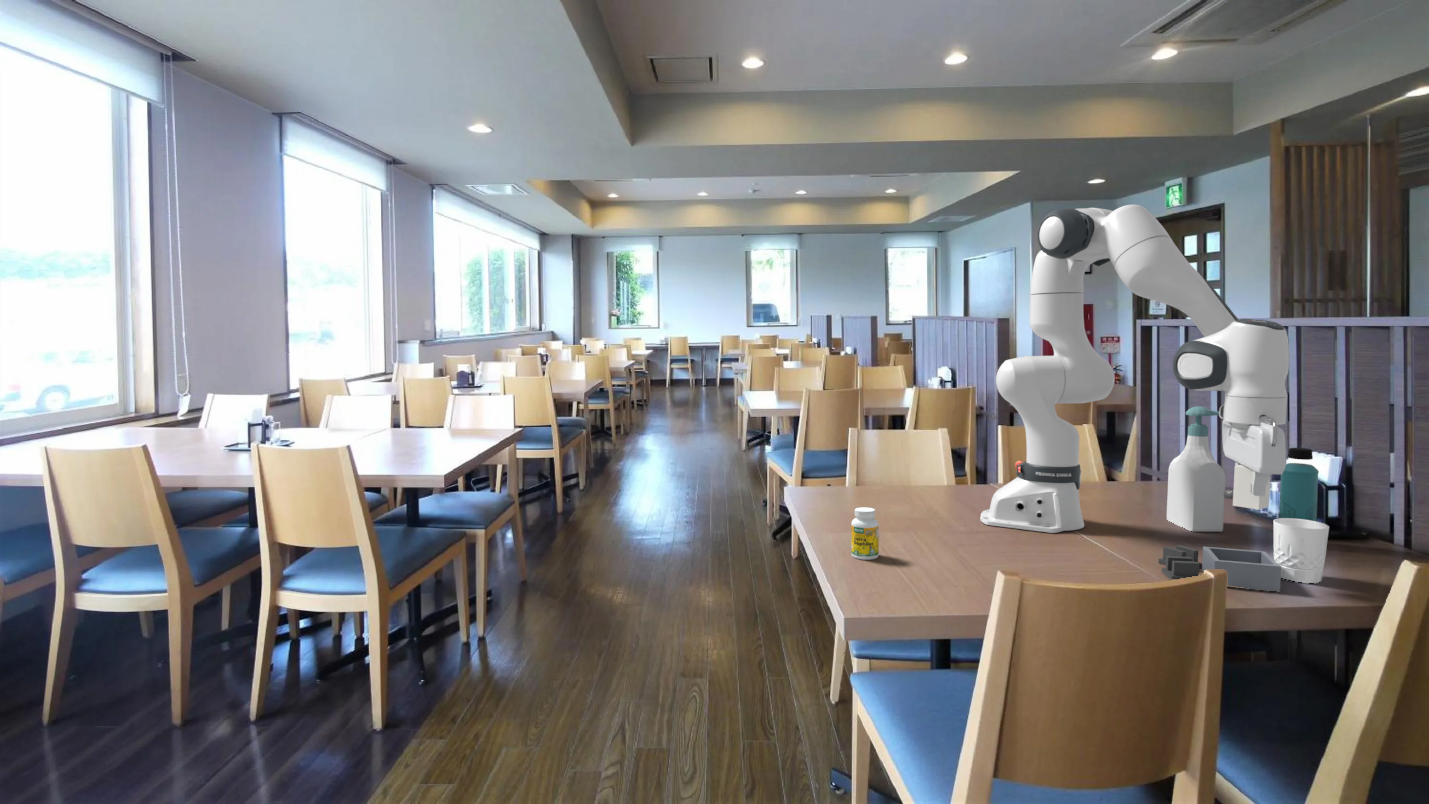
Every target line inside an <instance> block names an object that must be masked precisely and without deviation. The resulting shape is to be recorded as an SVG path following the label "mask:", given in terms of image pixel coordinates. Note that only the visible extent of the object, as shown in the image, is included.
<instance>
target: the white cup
mask: <svg viewBox="0 0 1429 804" xmlns="http://www.w3.org/2000/svg"><path fill="white" fill-rule="evenodd" d="M1272 522H1273V527H1272V528H1273V530H1272V532H1273V537H1272V539H1273V540H1272V542H1273V545H1272V546H1273V559H1274V560H1275V561H1276V562H1277V563H1278V564H1279V565H1280V566H1281V578H1283V579H1282V580H1284V579H1287V580H1286V581H1288V580H1292V581H1295V582H1294V583H1298V582H1302V583H1301V584H1309V583H1314V584H1320V583H1321V582H1322V581H1323V572H1324V567H1325V562H1326V556H1327V545H1328V538H1329V532H1330V526H1329V525H1328V524H1326V523H1323V522H1319V521H1317V522H1316V521H1311V520H1304V519H1293V518H1280V519H1279V518H1275V519H1273V521H1272ZM1292 581H1291V582H1292ZM1319 582H1320V583H1319Z"/></svg>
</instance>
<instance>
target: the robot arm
mask: <svg viewBox="0 0 1429 804" xmlns="http://www.w3.org/2000/svg"><path fill="white" fill-rule="evenodd" d="M1037 229H1038V230H1037V235H1036V236H1037V243H1038V246H1039V249H1040V250H1039V252H1038V253H1037V254H1036V257H1035V259H1034V263H1033V269H1032V274H1031V279H1030V281H1031V282H1030V296H1029V297H1030V298H1029V299H1030V301H1029V326H1030V329H1031V331H1032V332H1033V333H1034V334H1035V335H1036V336H1037V337H1039V338H1040V339H1043V340H1045V341H1047V342H1049V344H1050V346H1051V347H1052V350H1053V355H1025V356H1018V357H1014V358H1010V359H1006V360H1004V362H1002V363H1001V365H1000V366H999V368H998V370H997V373H996V377H995V385H996V389H997V391H998V393H999V394H1000V396H1001V398H1003V399H1004V400H1005V401H1006V402H1008V403H1009V404H1010V405H1012V406H1013V408H1014V409H1015V410H1016V411H1017V412H1018V415H1019V416H1020V418H1021V419H1022V422H1023V423H1022V424H1023V426H1024V429H1025V430H1024V431H1025V439H1026V440H1025V441H1026V442H1025V443H1026V461H1022V460H1018V461H1016V462H1015V465H1014V467H1015V469H1016V477H1015V478H1014V479H1012V480H1011V481H1009V482H1008V483H1006V484H1005V485H1003V486H1001V487H1000V488H999V489H997V490H996V491H995V492H994V494H993V495H992V497H991V501H990V506H989V509H985V510H982V511H981V513H980V517H979V520H980V522H982V524H985V525H987V526H992V527H993V526H995V527H1003V528H1010V529H1017V530H1026V531H1035V532H1042V533H1043V532H1044V533H1051V534H1056V533H1061V532H1064V531H1065V532H1067V531H1075V530H1076V531H1077V530H1080V529H1083V528H1084V527H1085V525H1086V524H1085V522H1084V518H1083V514H1082V510H1081V503H1080V492H1079V491H1080V489H1081V485H1082V484H1081V483H1082V469H1081V464H1080V463H1079V460H1080V459H1079V457H1080V433H1079V431H1078V430H1077V429H1078V428H1076V426H1074V425H1073V424H1072V423H1070V422H1068V421H1067V420H1065V419H1063V418H1061V417H1059V416H1058V414H1057V411H1056V404H1087V403H1088V404H1089V403H1091V402H1097V401H1101V400H1104V399H1106V398H1108V396H1109V395H1110V394H1111V392H1112V390H1113V388H1114V386H1115V379H1116V378H1115V372H1114V369H1113V367H1112V366H1111V364H1110V363H1109V361H1107V359H1105V358H1104V357H1102V356H1101V355H1100V354H1099V353H1098V352H1097V351H1096V350H1095V349H1094V347H1093V345H1092V344H1091V342H1090V340H1089V339H1088V335H1087V333H1086V328H1085V319H1084V317H1085V316H1084V291H1085V289H1084V288H1085V287H1084V280H1085V279H1084V278H1085V272H1086V270H1087V269H1088V268H1089V266H1090V265H1091V264H1093V265H1095V266H1096V267H1101V266H1103V265H1105V264H1107V263H1109V262H1110V263H1111V264H1112V266H1113V268H1114V270H1115V272H1116V273H1117V275H1118V277H1119V278H1120V280H1121V282H1122V283H1123V284H1124V285H1125V286H1126V287H1127V289H1129V291H1130V292H1132V293H1133V294H1134V295H1136V296H1139V297H1141V298H1143V299H1147V300H1151V301H1155V302H1159V303H1161V304H1164V305H1168V306H1170V307H1173V308H1175V309H1176V310H1178V311H1180V312H1182V313H1184V315H1185V314H1186V316H1188V318H1189V319H1190V320H1191V321H1192V322H1193V323H1194V325H1195V326H1196V327H1197V328H1198V330H1199V332H1200V333H1201V335H1203V337H1201V338H1197V339H1193V340H1190V341H1187V342H1185V343H1183V344H1181V346H1180V347H1178V349H1177V350H1176V352H1175V354H1174V356H1173V359H1172V371H1173V374H1174V377H1175V379H1176V381H1177V383H1178V384H1180V385H1181V386H1182V387H1184V388H1186V389H1189V390H1192V391H1198V392H1206V391H1207V392H1219V391H1220V392H1223V391H1224V403H1223V404H1222V405H1221V406H1220V407H1219V411H1220V412H1219V415H1218V416H1219V418H1220V419H1223V420H1222V424H1221V425H1222V426H1221V430H1222V431H1221V432H1222V433H1221V434H1222V437H1221V438H1222V449H1223V453H1224V456H1225V457H1226V458H1228V459H1230V460H1232V461H1234V462H1235V463H1234V467H1235V466H1238V465H1244V466H1246V467H1248V468H1250V469H1252V470H1253V472H1252V475H1253V482H1252V484H1251V490H1250V492H1251V493H1252V494H1253V495H1255V496H1264V495H1265V492H1266V485H1267V483H1268V480H1269V478H1270V479H1271V475H1281V474H1283V472H1284V470H1285V465H1286V464H1287V463H1286V460H1287V459H1286V458H1287V457H1286V453H1287V452H1286V435H1285V432H1284V430H1283V429H1282V428H1280V427H1279V426H1281V425H1282V426H1283V425H1286V423H1287V406H1288V405H1287V404H1288V393H1287V390H1286V379H1287V376H1288V374H1289V371H1290V370H1289V366H1290V344H1289V337H1288V334H1287V331H1286V328H1285V327H1284V326H1283V325H1281V324H1280V323H1278V322H1275V321H1272V320H1271V321H1270V320H1264V319H1253V318H1241V319H1238V317H1237V316H1236V315H1235V314H1234V312H1233V311H1232V309H1231V308H1230V307H1229V306H1228V304H1227V303H1226V302H1225V301H1224V299H1223V298H1222V296H1220V294H1219V293H1218V292H1217V291H1216V290H1215V288H1214V287H1213V286H1212V285H1211V284H1210V283H1209V282H1208V280H1206V279H1205V278H1204V276H1202V275H1201V273H1200V272H1198V271H1197V270H1196V268H1195V267H1194V266H1193V265H1191V263H1190V262H1189V261H1188V260H1187V258H1186V257H1185V255H1183V254H1182V252H1181V250H1180V249H1179V248H1178V247H1177V245H1176V244H1175V243H1174V240H1173V239H1172V238H1171V236H1170V235H1169V233H1168V232H1167V230H1166V229H1165V227H1164V226H1163V225H1162V223H1160V222H1159V220H1158V219H1157V218H1156V217H1155V216H1154V215H1153V214H1152V212H1150V211H1149V210H1148V209H1147V208H1146V207H1145V206H1142V205H1139V204H1134V203H1133V204H1127V205H1123V206H1120V207H1118V208H1116V209H1114V210H1113V209H1112V210H1111V209H1105V208H1099V207H1087V208H1085V207H1084V208H1082V207H1081V208H1072V207H1064V208H1058V209H1055V210H1052V211H1050V212H1049V213H1047V214H1046V215H1045V216H1044V217H1043V219H1042V220H1041V222H1040V224H1039V226H1038V228H1037Z"/></svg>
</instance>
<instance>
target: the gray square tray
mask: <svg viewBox="0 0 1429 804" xmlns="http://www.w3.org/2000/svg"><path fill="white" fill-rule="evenodd" d="M1201 563H1202V568H1201V571H1202V572H1203V571H1204V570H1206V569H1224V570H1226V571H1227V572H1228V585H1229V587H1230V585H1231V586H1237V587H1244V588H1249V589H1260V590H1269V591H1279V592H1280V593H1281V566H1280V565H1279V564H1278V563H1277V562H1276V561H1275V560H1274V557H1272V556H1270V555H1269V554H1268V553H1267V552H1266V551H1261V550H1249V549H1237V548H1228V547H1227V548H1224V547H1213V546H1203V547H1202V562H1201ZM1249 589H1248V590H1249ZM1269 591H1268V592H1269ZM1279 592H1278V593H1279Z"/></svg>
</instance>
